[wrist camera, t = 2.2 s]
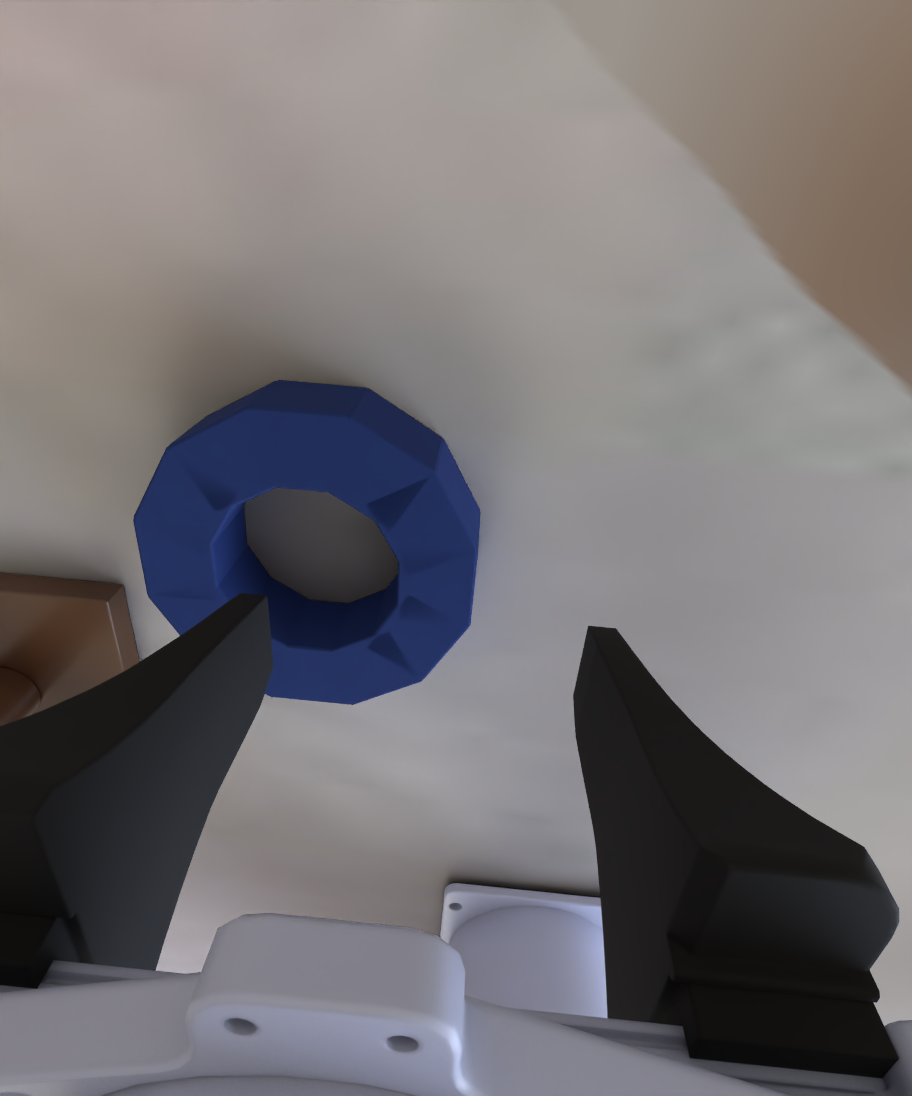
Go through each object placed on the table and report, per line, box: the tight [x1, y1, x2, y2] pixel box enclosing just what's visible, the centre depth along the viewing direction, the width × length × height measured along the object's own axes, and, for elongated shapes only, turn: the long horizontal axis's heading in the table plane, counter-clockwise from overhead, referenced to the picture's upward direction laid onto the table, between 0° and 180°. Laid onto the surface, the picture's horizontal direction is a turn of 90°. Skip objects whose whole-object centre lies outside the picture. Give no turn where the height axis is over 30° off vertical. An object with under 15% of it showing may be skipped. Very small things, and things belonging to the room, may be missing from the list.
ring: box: [134, 380, 480, 705], centre depth 18 cm, size 9×9×2 cm
